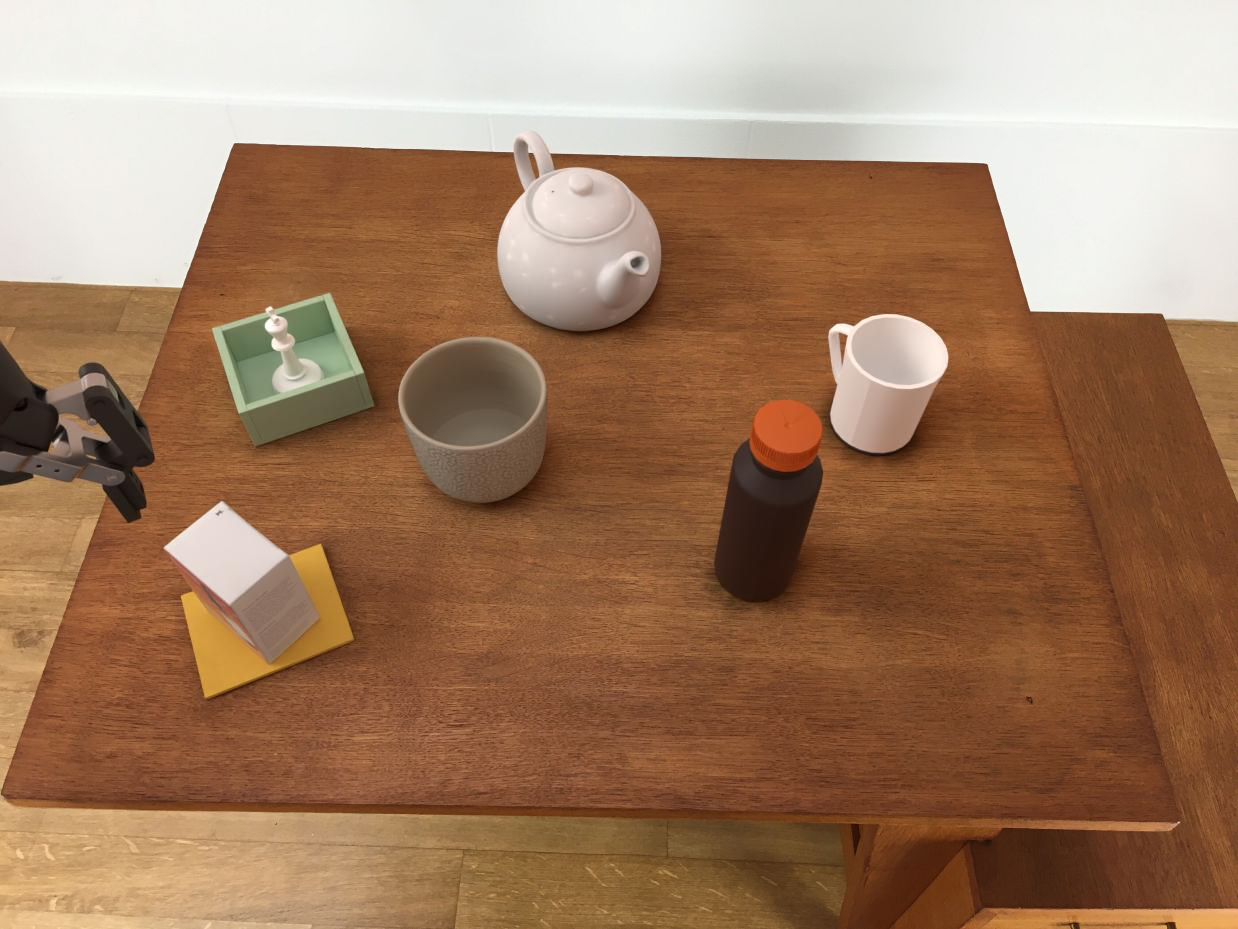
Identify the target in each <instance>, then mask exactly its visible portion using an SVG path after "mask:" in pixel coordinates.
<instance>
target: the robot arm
mask: <svg viewBox="0 0 1238 929" xmlns="http://www.w3.org/2000/svg"><path fill="white" fill-rule="evenodd" d="M78 377H79V379H76V380H73V381H71V382H68V383H65V384H62V385H59V386H57V387H54V388H51V389H49V388H47V387H45V386H42V385H40V384H38V383H36V382H34V381H33V380H31V379H30V378H29V377H28V376H27V375H26V374H25V372H24V371H23V369H22V368H21V366H20V365H19V363H18V362H17V360H16V359H15V358H14V357H13V356H12V354H11V353H10V351H9V350H8V349H7V347H6V346H5V344H4V343H3V342H2V341H1V340H0V487H2V486H8V485H15V484H20V483H23V482H25V481H29V480H32V479H34V478H35V477H34V475H36V476H39V477H43V478H47V479H51V480H55V481H59V482H64V483H72V482H74V481H75V480H76V479H80V480H84V481H87V482H92V483H95V484H99V485H101V487H102V490H103V492H104V493H105V494H106V496H107V497H108V499H109V500H110V501H111V503H112V504H113V506H114V507H115V508H116V509H117V511H118V512H119V513H120V515H121V516H122V517H123V518H124V520H125V521H126V522H127V523H128V524H130V523H133V522H135V521H138V520H141V519H142V512H141V510H144V509H147V507H148V506H147V503H148V501H147V497H146V492H145V488H144V484H143V481H142V480H141V479H140V477H139V476H138V474H137V473H136V471H135V470H134V468H135V467H136V468H146V467H149V466H151V465H152V464H153V463H155V460H156V456H155V451H154V448H153V444H152V440H151V435H150V431H149V428H148V424H147V422H146V421H145V419H144V418H143V417H142V416H141V414H140V413H139V412H138V410H137V408H135V406H134V405H133V404H132V402H131V401H130V400H129V398H128V397H127V396H126V395H125V393H124V391H123V390H122V389H121V388H120V386H119V385H118V383H117V382H116V381H115V379H114V378H113V377H112V375H111V374H110V373H109V371H108V370H107V369H106V367H105V366H104V365H103V364H101V363H99V362H94V361H93V362H92V361H91V362H86V363H83V364H82V365H81V366H80V367H79V368H78ZM64 414H69V415H70V414H71V415H74V416H77V418H79V419H81V420H83V421H86V424H87V426H91V427H93V426H97V425H98V426H100V428H101V429H102V430H103V431H104V432H105V434H106V435H107V436H105V435H100V434H97V433H95V432H91V431H88V430H84V429H83V428H81V426H80V425H79V424H78V423H77V422H76V421H74V420H71V419H68V418H65V417H62V416H60V415H64ZM51 444H52V445H53V446H54V452H55V453H53V452H49V450H50V448H51Z"/></svg>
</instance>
